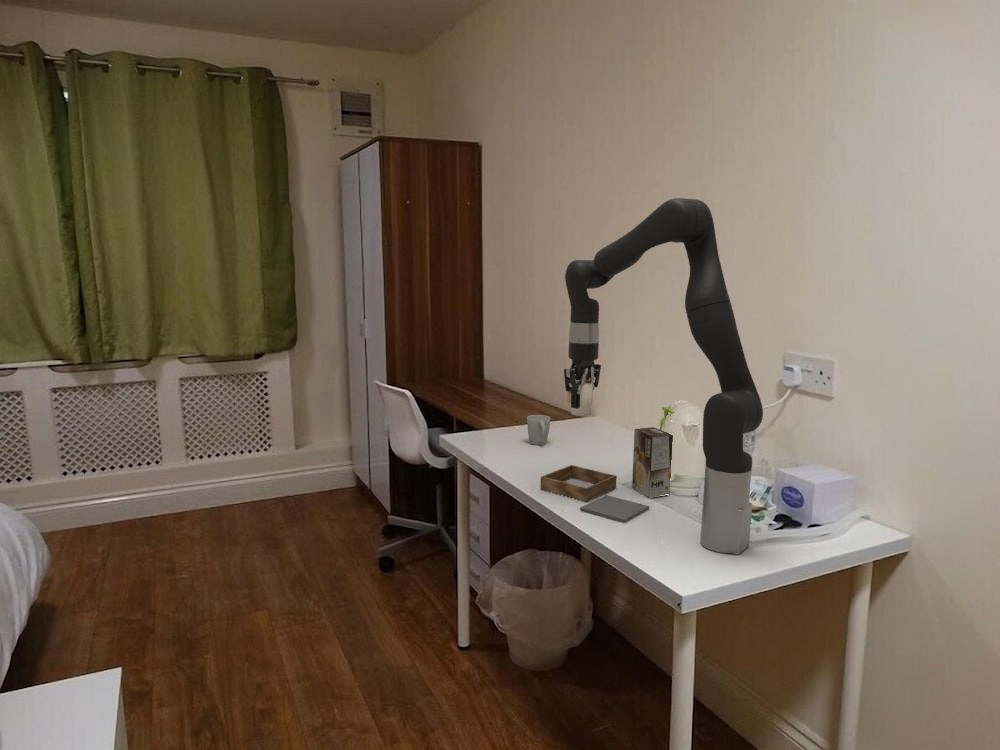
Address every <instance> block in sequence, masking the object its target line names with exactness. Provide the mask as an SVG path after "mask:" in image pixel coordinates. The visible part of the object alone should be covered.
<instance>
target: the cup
mask: <svg viewBox="0 0 1000 750" xmlns="http://www.w3.org/2000/svg"><path fill="white" fill-rule="evenodd" d="M526 423H527V424H526V425H527V434H528V442H529V444H530V445H532V444H534V445H533V446H544V445H543V444H545V445H547V443H548V438H549V433H550V425H551V416H548V415H544V414H532V415H527V416H526Z"/></svg>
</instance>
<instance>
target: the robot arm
mask: <svg viewBox="0 0 1000 750" xmlns="http://www.w3.org/2000/svg"><path fill="white" fill-rule="evenodd" d="M671 242H672V243H676V244H677V243H682V244H683V245H684V249H685V251H686V255H687V258H688V264H689V277H688V280H687V281H688V282H687V285H686V287H687V288H686V291H685V298H684V299H685V300H684V308H685V313H686V317H687V322H688V326H689V330H690V332H691V335H692V337H693V339H694V341H695V343H696V345H697V346H698V347H699V348H700V350H701V351H702V353H703V355H704V356H705V357H706V358H707V359H708V361H709V362H710V364H711V366H712V367H713V369H714V371H715V373H716V376H717V380H718V384H719V386H720V391H721V392H719V393H716V394H714V395H712V396H711V397H710V398H709V399H708V400H707V402H706V404H705V406H704V411H703V417H702V418H703V419H702V451H703V455H704V457H705V466H704V467H705V468H704V483H703V493H702V495H703V496H702V497H703V498H702V508H701V509H702V511H701V512H702V513H701V522H700V523H701V526H700V539H699V540H700V541H699V542H700V544H701V546H702V547H704V548H706V549H707V550H711V551H713V552H717V553H723V554H733V555H740V554H742V552H743V551H745V550H746V549H748V547H750V538H751V524H752V513H753V512H752V511H753V504H752V503H751V502H750V496H751V495H750V494H751V483H752V471H753V470H752V467H753V457H752V455H751V454H750V453H748V452H746V451H744V435H745V434H749V433H751V432H754V431H755V430H757V429H758V428H759V427H760V426H761V424H762V421H763V417H764V409H763V403H762V401H761V397H760V395H759V392H758V389H757V387H756V384H755V381H754V379H753V377H752V375H751V372H750V369H749V366H748V362H747V360H746V356H745V352H744V348H743V345H742V341H741V338H740V334H739V331H738V326H737V321H736V317H735V313H734V310H733V306H732V302H731V299H730V296H729V292H728V289H727V285H726V281H725V277H724V272H723V269H722V265H721V261H720V255H719V250H718V243H717V236H716V228H715V223H714V219H713V214H712V211H711V209H710V207H709V206H708V205H707V204H706V203H705V202H704V201H702V200H700V199H695V198H682V197H675V198H670V199H668V200H666V201H665V202H663V203H662V204H660V205H659V206H658V207H657V208H656V209H655V210H653V212H651V213H650V214H649V215H647V217H646V218H645V219H643V220H642V221H641V222H640V223H638V224H637V225H636V226H635V227H634V228H632V229H631V230H630V231H628V232H627V233H625V235H623V236H621V237H620V238H618V239H615V240H614V241H613V242H611V243H609V244H607V245H606V246H604V247H602V248H601V249H600V250H598V251H597V252H596V253H595V256H594V258H593V260H592V259H589V260H587V259H575V260H572V261H571V262H570V263H569V264H568V265H567V267H566V270H565V274H564V280H565V286H566V290H567V294H568V299H569V303H570V304H569V305H570V325H569V330H568V357H567V358H569V360H571V361H572V362H571V365H570V368H564V369H563V376H564V377H563V378H564V386H565V392H567V393H568V392H570V393H571V403H570V408H571V407H572V408H576V409H578V408H580V391H581V386H583V385H584V382H591V383H593V385H592V394H593V391H594V390H595V389H596V388H598V387H599V382H600V376H601V375H600V373H601V371H602V368H601V367H602V365H601V364H600V363H599V364H598V363H595V361H596V360H598V359H599V347H600V346H599V345H600V325H599V320H600V319H599V317H600V304H599V301H598V300H596V299H594V298H591V297H590V296H589V292H588V290H587V289H590V290H591V289H592V290H593V289H598V288H602V286H605V285H606V284H608V283H609V281H611V280H612V279H613V278H614V277H615V276H616V275H618V274H620V273H622V272H623V271H625V270H627V269H630V267H633V266H635V264H637V262H638V261H640V259H641V258H642V257H643V256H644V254H645V253H646V252H647V251H649V250H650V249H652V248H655V247H658V246H660V245H663V244H668V243H671ZM576 384H577V385H578V386H577V389H576ZM570 386H571V387H570Z"/></svg>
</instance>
